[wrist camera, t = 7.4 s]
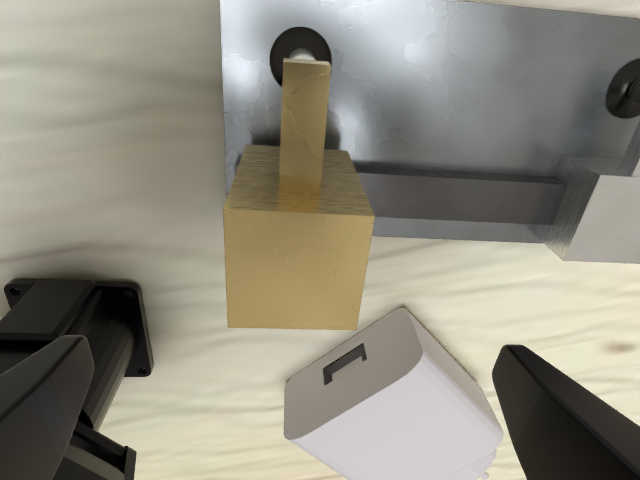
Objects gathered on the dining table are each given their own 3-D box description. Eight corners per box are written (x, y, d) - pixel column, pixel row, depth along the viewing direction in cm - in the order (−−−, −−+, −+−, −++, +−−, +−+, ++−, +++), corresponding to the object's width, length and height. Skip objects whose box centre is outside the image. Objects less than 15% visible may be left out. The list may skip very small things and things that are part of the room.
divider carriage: (335, 228, 19) (356, 330, 13) (249, 224, 18) (227, 327, 12) (354, 52, 15) (397, 76, 9) (248, 43, 15) (217, 62, 9)
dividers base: (608, 237, 22) (660, 273, 18) (230, 220, 20) (219, 258, 17) (710, 27, 17) (804, 29, 14) (223, -21, 15) (205, -31, 12)
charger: (412, 474, 32) (284, 378, 26) (516, 421, 29) (402, 300, 23) (430, 543, 28) (282, 447, 21) (554, 488, 25) (427, 361, 19)
